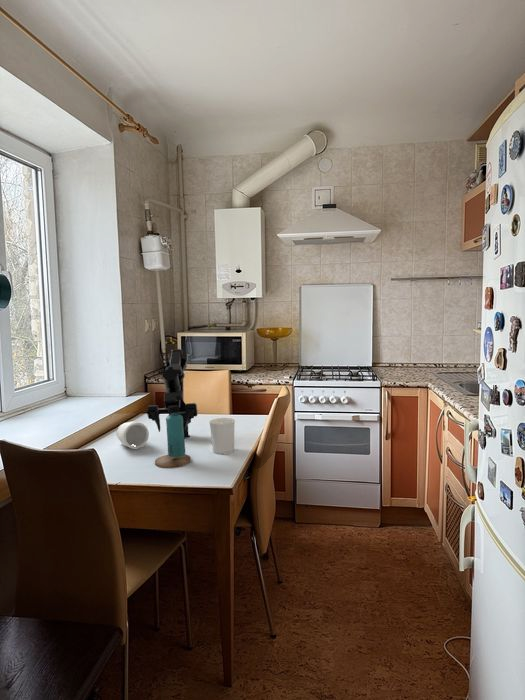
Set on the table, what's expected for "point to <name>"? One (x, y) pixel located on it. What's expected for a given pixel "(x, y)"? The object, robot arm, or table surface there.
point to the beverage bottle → (175, 433)
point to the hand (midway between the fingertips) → (171, 430)
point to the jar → (133, 434)
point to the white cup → (222, 435)
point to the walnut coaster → (172, 461)
